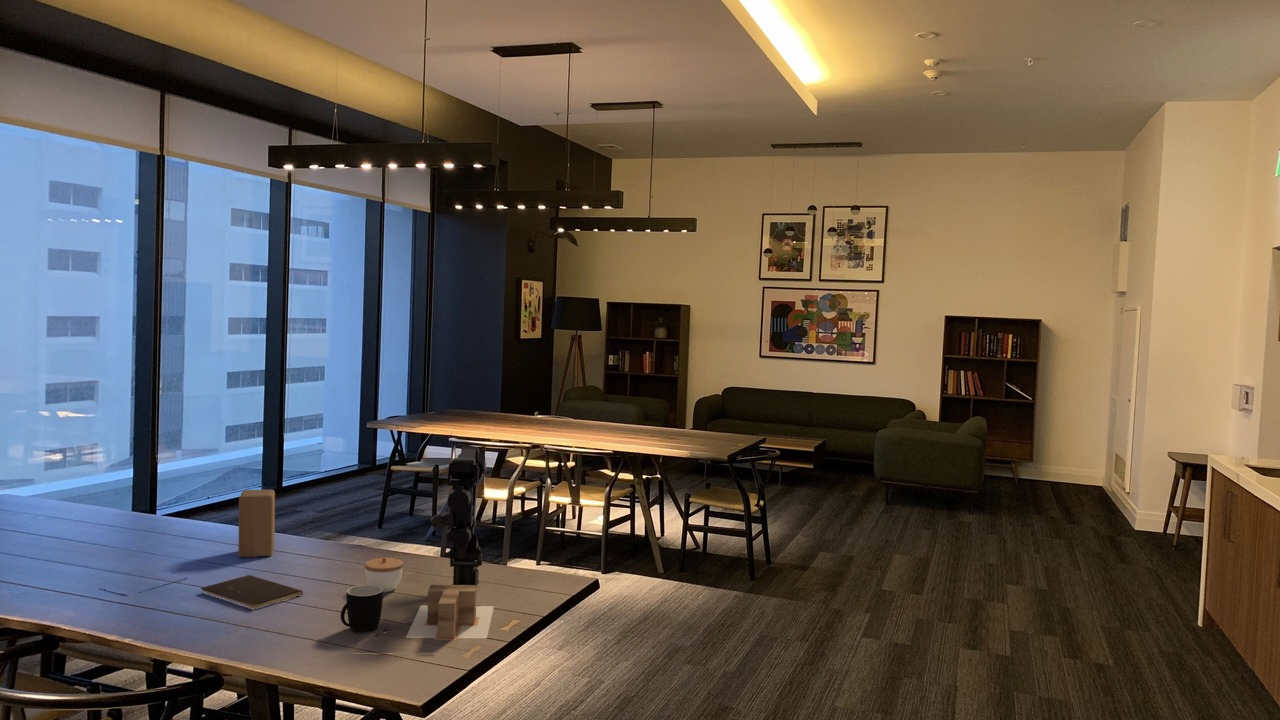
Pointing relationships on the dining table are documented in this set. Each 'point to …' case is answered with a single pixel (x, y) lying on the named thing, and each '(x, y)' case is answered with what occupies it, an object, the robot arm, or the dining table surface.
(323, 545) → the dining table surface
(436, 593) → the t block
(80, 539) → the dining table surface
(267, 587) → the hardcover book
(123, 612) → the dining table surface
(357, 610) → the mug
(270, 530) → the block
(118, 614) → the dining table surface
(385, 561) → the lidded jar
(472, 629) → the mat
